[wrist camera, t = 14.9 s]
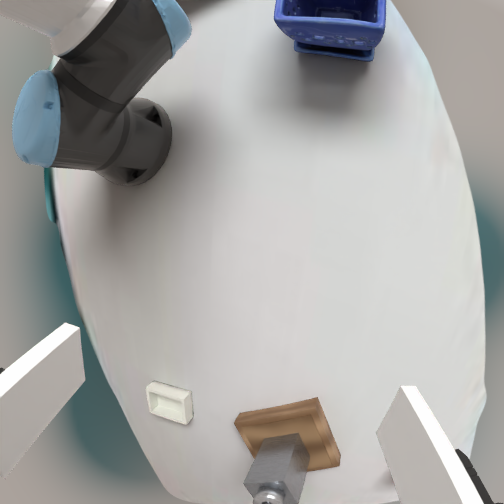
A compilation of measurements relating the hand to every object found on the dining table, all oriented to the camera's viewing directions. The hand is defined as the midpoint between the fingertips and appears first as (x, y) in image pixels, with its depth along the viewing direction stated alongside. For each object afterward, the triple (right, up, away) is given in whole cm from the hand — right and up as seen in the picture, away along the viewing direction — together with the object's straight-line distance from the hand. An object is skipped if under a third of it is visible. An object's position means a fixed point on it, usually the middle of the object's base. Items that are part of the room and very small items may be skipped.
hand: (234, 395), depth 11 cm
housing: (+6, -27, +32) cm, 42 cm away
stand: (+7, -26, +35) cm, 44 cm away
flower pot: (+14, +38, +25) cm, 48 cm away
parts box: (-14, -22, +41) cm, 48 cm away
